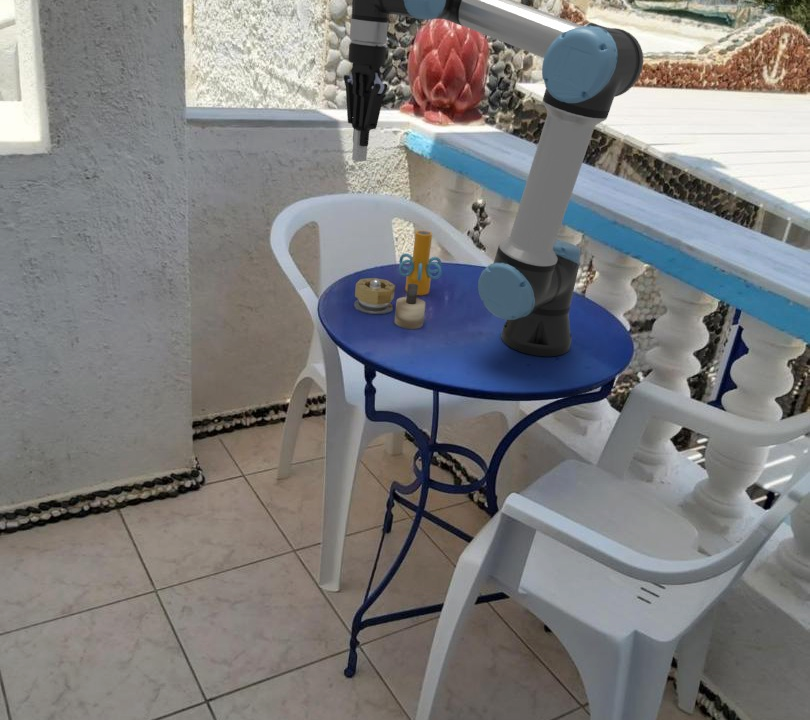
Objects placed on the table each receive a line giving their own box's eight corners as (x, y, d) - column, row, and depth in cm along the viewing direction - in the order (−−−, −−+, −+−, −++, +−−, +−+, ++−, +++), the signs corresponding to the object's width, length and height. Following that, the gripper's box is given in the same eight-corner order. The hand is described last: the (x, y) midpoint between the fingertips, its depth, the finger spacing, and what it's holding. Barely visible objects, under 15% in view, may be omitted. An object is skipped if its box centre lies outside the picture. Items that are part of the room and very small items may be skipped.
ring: (396, 294, 180) (397, 282, 179) (387, 306, 172) (388, 294, 171) (362, 287, 181) (363, 275, 180) (351, 299, 174) (352, 287, 173)
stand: (428, 326, 171) (433, 288, 167) (405, 330, 167) (410, 292, 164) (411, 315, 176) (415, 278, 172) (388, 320, 172) (392, 282, 168)
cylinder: (438, 302, 185) (446, 242, 178) (395, 298, 184) (401, 238, 178) (437, 285, 196) (445, 227, 189) (397, 280, 195) (402, 223, 189)
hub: (400, 310, 177) (403, 283, 174) (368, 317, 172) (370, 288, 169) (378, 297, 184) (380, 270, 181) (346, 302, 179) (348, 275, 176)
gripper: (401, 48, 154) (390, 166, 164) (365, 40, 163) (357, 153, 173) (370, 46, 149) (361, 168, 160) (335, 38, 158) (328, 154, 169)
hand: (359, 160), depth 166 cm, fingers closed
